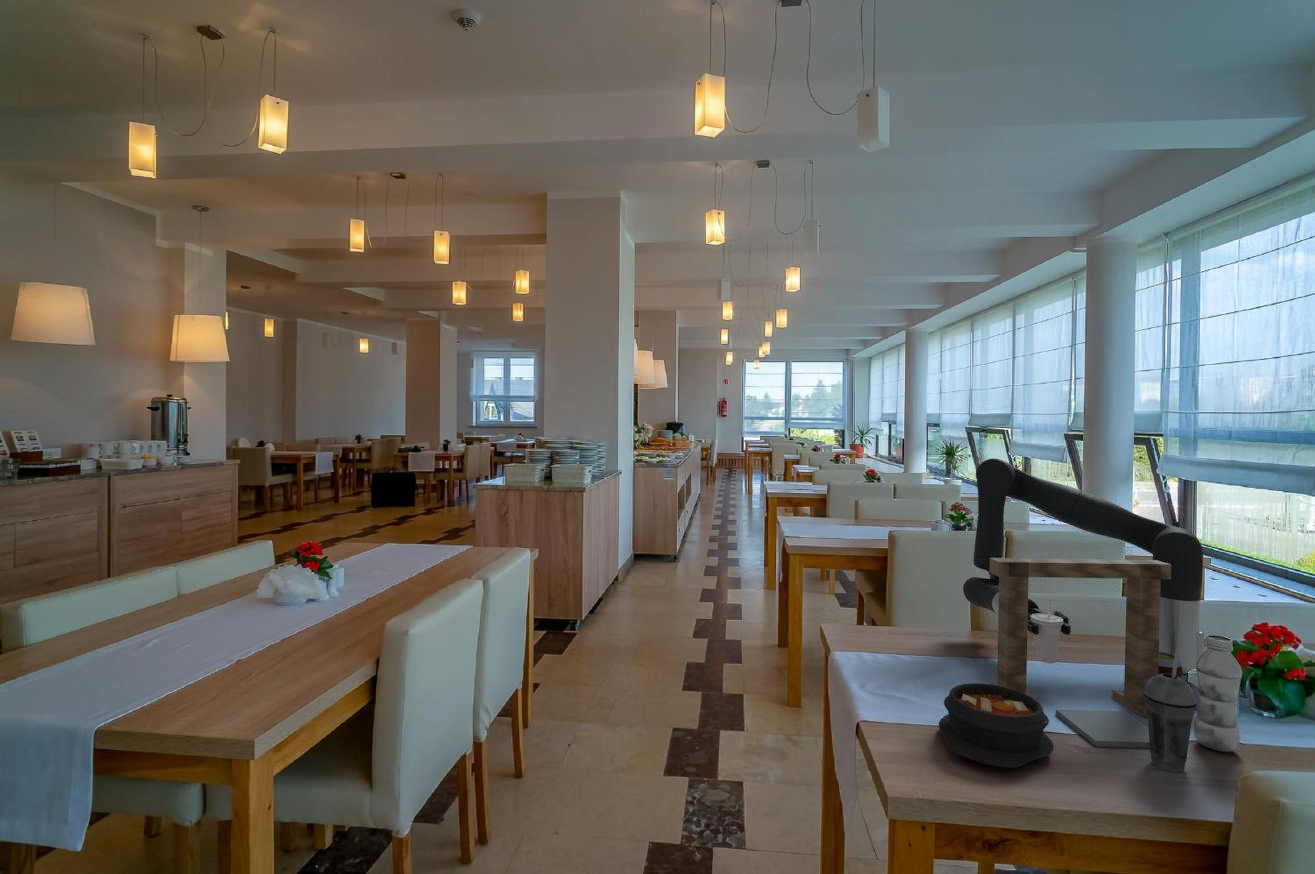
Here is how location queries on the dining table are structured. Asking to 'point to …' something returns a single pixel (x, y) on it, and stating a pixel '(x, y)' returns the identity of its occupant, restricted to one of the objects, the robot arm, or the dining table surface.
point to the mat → (1107, 727)
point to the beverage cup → (1169, 719)
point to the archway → (1137, 572)
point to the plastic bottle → (1218, 695)
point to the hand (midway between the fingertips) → (1052, 630)
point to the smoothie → (1047, 635)
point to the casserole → (995, 725)
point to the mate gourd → (1168, 664)
